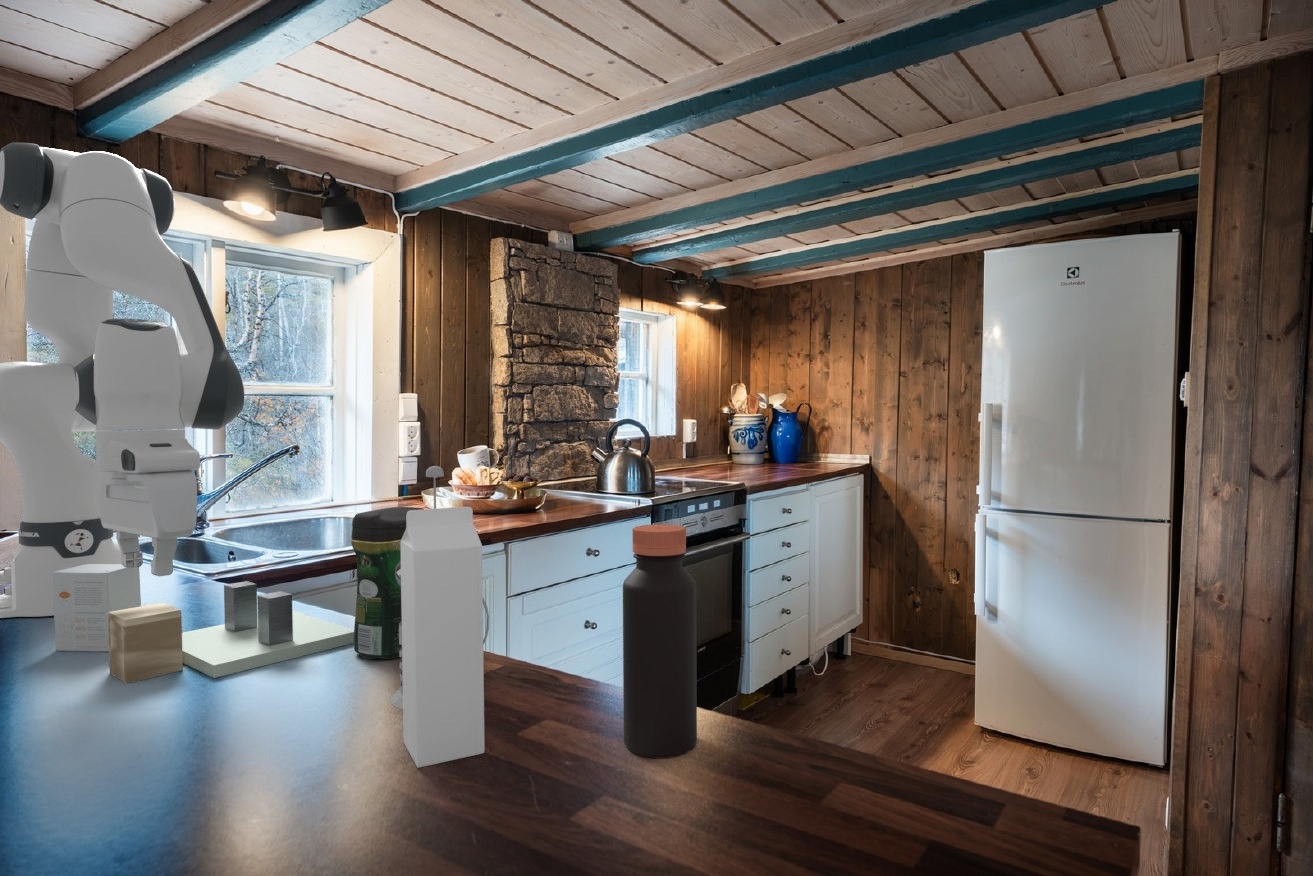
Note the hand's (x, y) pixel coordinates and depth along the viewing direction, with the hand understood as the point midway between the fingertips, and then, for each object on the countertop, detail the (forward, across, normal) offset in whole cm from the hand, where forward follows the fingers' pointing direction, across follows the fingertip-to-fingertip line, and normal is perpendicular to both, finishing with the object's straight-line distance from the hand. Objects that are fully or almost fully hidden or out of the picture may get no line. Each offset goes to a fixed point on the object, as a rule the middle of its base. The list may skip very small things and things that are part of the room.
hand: (146, 571), depth 92 cm
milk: (+13, +45, +8) cm, 48 cm away
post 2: (+12, +4, +13) cm, 18 cm away
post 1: (+12, -6, +13) cm, 18 cm away
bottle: (+14, +60, +21) cm, 66 cm away
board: (+12, -1, +13) cm, 18 cm away
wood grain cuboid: (+12, -1, 0) cm, 12 cm away
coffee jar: (+13, +15, +23) cm, 30 cm away
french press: (+13, +34, +17) cm, 40 cm away
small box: (+12, -18, 0) cm, 21 cm away
